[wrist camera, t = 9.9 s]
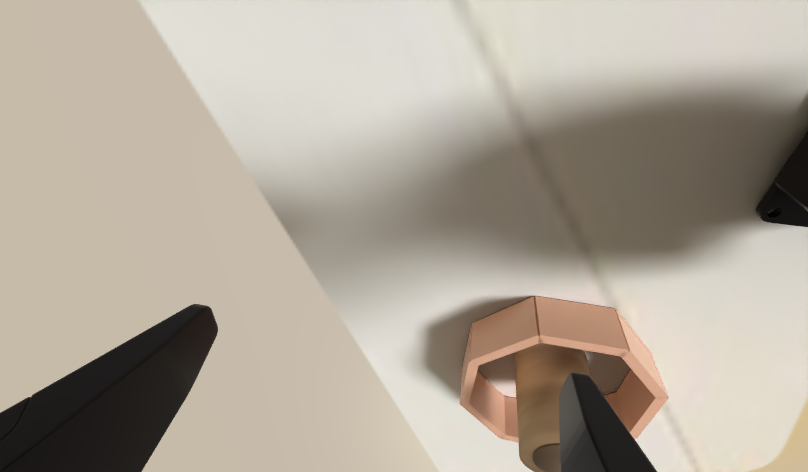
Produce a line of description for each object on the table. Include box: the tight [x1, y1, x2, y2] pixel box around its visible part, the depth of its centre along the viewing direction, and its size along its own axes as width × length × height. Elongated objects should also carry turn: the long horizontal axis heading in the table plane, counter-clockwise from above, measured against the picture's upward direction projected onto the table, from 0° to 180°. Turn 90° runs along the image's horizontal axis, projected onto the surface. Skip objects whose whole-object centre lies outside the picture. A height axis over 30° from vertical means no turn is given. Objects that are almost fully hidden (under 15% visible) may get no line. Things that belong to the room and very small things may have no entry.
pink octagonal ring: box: [460, 296, 668, 442], centre depth 25 cm, size 11×11×3 cm
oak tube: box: [515, 343, 591, 472], centre depth 24 cm, size 5×5×7 cm
